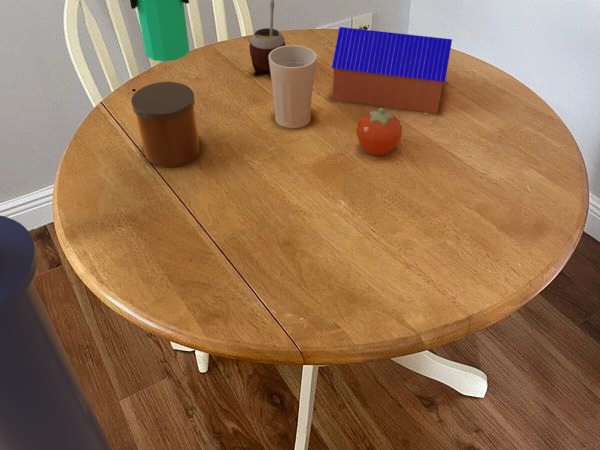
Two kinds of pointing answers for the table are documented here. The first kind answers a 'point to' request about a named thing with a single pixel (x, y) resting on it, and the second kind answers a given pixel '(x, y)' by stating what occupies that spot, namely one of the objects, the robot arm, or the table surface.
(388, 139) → the tomato
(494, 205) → the table surface
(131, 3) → the robot arm
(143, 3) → the candle
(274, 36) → the mate gourd
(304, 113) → the cup
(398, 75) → the house
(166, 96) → the jar
